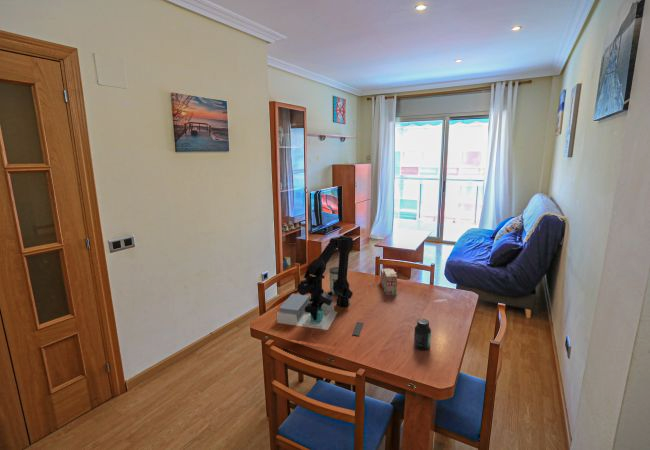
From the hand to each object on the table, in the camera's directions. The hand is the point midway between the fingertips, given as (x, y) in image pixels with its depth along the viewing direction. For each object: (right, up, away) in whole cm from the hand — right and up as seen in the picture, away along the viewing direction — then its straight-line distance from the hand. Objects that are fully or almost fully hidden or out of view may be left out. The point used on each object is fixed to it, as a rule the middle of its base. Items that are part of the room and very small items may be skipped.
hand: (316, 317), depth 169 cm
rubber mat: (+16, -3, -6) cm, 17 cm away
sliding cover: (-11, +5, +4) cm, 13 cm away
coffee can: (+12, +6, +37) cm, 39 cm away
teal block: (0, -1, 0) cm, 1 cm away
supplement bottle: (+46, -7, -22) cm, 52 cm away
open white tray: (-4, -2, +3) cm, 6 cm away
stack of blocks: (+43, +7, +41) cm, 60 cm away
